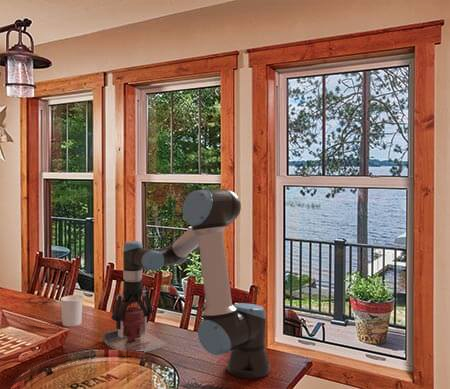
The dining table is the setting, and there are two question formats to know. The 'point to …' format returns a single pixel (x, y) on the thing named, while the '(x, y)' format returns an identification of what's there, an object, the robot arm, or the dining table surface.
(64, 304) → the candle holder
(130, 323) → the mechanical component
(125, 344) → the rack plate
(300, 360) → the dining table surface
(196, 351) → the dining table surface
